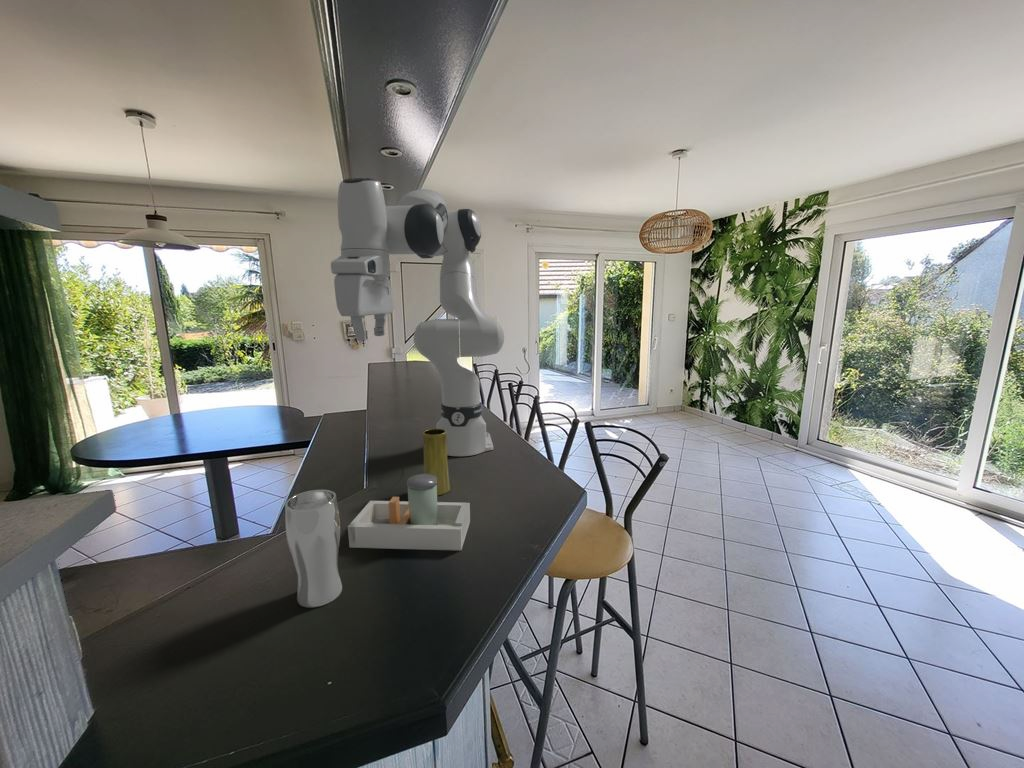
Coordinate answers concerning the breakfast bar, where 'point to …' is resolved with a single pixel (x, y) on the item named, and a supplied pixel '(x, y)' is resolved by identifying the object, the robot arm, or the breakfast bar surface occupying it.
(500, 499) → the breakfast bar surface
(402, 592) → the breakfast bar surface
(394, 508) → the pusher
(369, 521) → the white tray
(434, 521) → the jar
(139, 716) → the breakfast bar surface
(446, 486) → the vase
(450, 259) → the robot arm
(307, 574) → the beer glass
